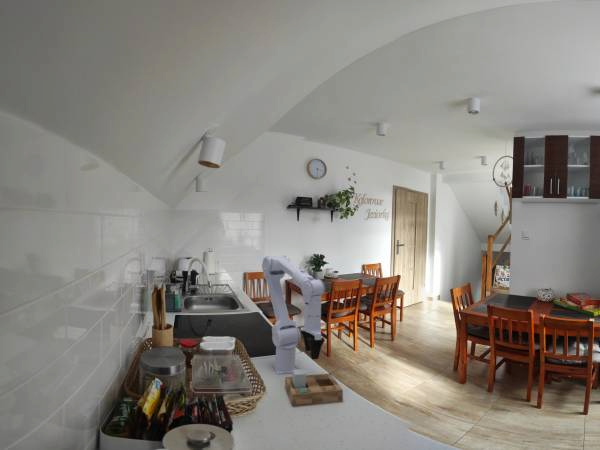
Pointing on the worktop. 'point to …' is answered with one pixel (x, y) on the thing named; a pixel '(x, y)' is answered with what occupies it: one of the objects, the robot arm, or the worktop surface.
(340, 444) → the worktop surface
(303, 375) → the matte gray box
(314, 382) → the port block
